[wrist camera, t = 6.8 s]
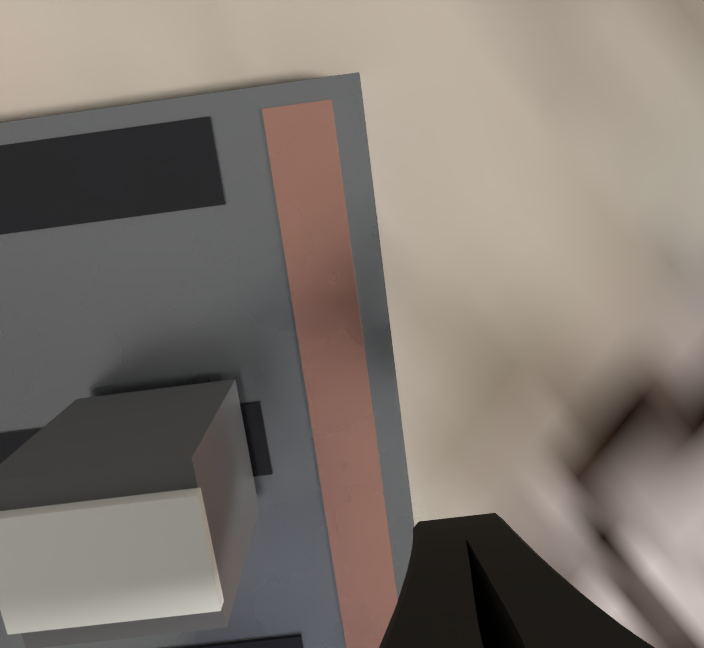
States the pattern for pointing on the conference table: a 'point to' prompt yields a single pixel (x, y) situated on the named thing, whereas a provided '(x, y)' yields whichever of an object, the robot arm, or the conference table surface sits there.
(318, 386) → the panel
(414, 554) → the robot arm
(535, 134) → the conference table surface
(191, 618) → the breaker
